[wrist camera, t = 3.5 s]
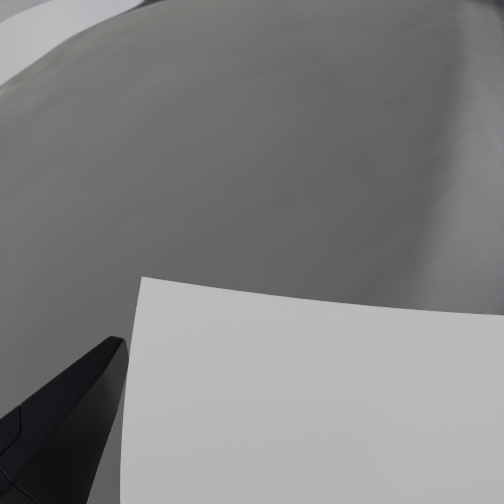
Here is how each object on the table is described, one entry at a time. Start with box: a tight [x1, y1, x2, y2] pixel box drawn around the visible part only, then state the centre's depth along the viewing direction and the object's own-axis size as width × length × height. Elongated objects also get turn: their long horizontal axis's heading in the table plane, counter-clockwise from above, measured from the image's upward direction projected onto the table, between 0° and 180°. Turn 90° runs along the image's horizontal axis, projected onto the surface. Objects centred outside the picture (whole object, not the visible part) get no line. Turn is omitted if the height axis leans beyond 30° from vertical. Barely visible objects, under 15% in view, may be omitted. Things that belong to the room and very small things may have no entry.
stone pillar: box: [120, 277, 504, 504], centre depth 8 cm, size 5×5×12 cm
